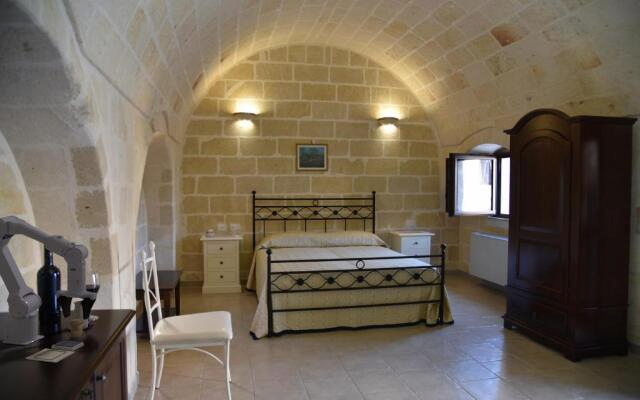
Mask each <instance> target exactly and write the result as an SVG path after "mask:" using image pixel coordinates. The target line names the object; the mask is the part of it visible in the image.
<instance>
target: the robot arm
mask: <svg viewBox="0 0 640 400" xmlns="http://www.w3.org/2000/svg"><path fill="white" fill-rule="evenodd" d="M16 235H22V236H25V237H27V238H28V239H29V238H30V239H32V240H34V241H36V242H39V243H41V244H43V245H44V247H45V249H46V250H47V251H49V252H51V253H53V254H54V255H55V254H56V255H57V256H59V257H62V258H63V259H64V261H65V262H66V264H67V269H66V274H67V275H66V278H67V280H66V286H67V287H66V288H67V289H65V290H63V289H61V290H57V291H56V303H57V304H58V305H59V307H60V310H61V312H62V315H63V317H64V319H67V318H69V317H71V313H72V312H71V309H72V308H71V307H72V301H73V299H74V298H75V299H83V300H79V301H80V303H81V305H82V310H83V320H86V319H87V320H89V318H90V315H91V311H92V309H93V306H94V304H95V303H96V301H97V298H98V293H97V292H91V291H88V290H87V289H86V288H87V279H86V278H87V272H86V271H87V268H86V267H87V266H86V263H87V261H86V259H87V258H88V257H89V250H88V248H87V247H86V246H85V245H83V244H77V243H76V242H75V241H73V242H72V241H70V240H67V239H66V238H64V236H63V235H62V234H59V235H58V234H54V235H53V234H52V235H50V234H48V233H46V232H44V231H42V230H41V229H39V228H37V227H36V226H34V225H32V224H30V223H28V222H27V221H26V220H25V219H22V218H19V216H18V217H17V216H16V215H8V216H4V217H2V216H1V217H0V278H1V279H2V282H3V284H4V286H5V287H6V290H7V292H8V296H7V298H6V302H7V304H8V313H9V314H10V315H9V316H8V317H7V318H6V319H5V322H4V340H3V341H2V343H3V344H11V345H19V346H20V345H21V346H27V345H30V344H32V343H34V342H36V341H39V340H41V339H43V338H45V336H44V335H39V328H38V327H39V326H38V325H39V319H38V316H39V312H38V309H39V308H40V307H41V306H42V299H41V297H40V296H39V294H37V293H36V292H35V291H34V290H35V289H34V288H32V287H30V286H28V285H27V283H26V282H25V279H24V278H23V275H22V273H21V271H20V269H19V266H18V264H17V263H16V260H15V259H14V256H13V254H12V253H11V250H10V249H9V246H8V244H9V243H10V241H11V239H12V237H14V236H16Z"/></svg>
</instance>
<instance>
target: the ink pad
mask: <svg viewBox="0 0 640 400" xmlns="http://www.w3.org/2000/svg"><path fill="white" fill-rule="evenodd" d="M82 347H84V342H81V341H79V342H75V341H69V340H65V339H64V340H61V341H58V342H57V343H54V344H52V345H51V349H54V350H63V351H72V352H75V350H77V349H79V348H82Z"/></svg>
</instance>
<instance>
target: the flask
mask: <svg viewBox="0 0 640 400" xmlns="http://www.w3.org/2000/svg"><path fill="white" fill-rule="evenodd" d="M80 301H81V300H77V301H74V302H73V304H74V309H73V312H72V315H71V318H70V320H69V323H68V325H67V330H70V331H71V325H70V321H71V320H75V319H82V320H83V310H82V305H81V303H80ZM88 323H89V324H90V322H89V319H86V320H83V323H82V330H85V329H87V328H89V327H88Z"/></svg>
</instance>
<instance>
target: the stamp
mask: <svg viewBox="0 0 640 400" xmlns="http://www.w3.org/2000/svg"><path fill="white" fill-rule="evenodd" d="M70 320H71V319H70ZM70 320H69V323H70V325H71V330H70V337H69V338H68V339H69V340H68V341H75V342H81V341H84V339H85V338H84V335H83V329H82V323H83V320H82V319H75V320H71V321H70Z"/></svg>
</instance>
